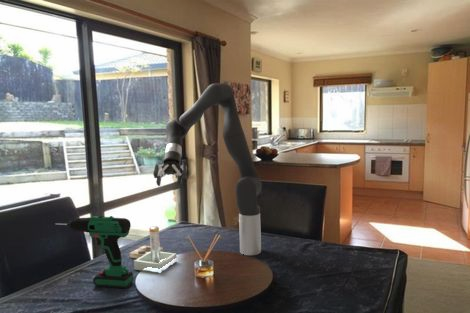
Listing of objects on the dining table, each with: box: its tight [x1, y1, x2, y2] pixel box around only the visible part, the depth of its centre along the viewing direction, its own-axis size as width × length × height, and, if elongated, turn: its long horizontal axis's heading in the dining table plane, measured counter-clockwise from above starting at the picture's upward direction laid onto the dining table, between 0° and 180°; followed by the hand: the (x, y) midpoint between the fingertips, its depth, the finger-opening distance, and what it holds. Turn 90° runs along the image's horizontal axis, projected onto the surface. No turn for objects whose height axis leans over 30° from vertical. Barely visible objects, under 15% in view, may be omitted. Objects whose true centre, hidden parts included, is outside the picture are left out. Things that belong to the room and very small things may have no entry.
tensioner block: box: [129, 245, 164, 259], centre depth 160 cm, size 10×10×3 cm
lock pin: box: [148, 225, 161, 263], centre depth 147 cm, size 4×4×15 cm
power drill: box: [54, 215, 134, 289], centre depth 132 cm, size 6×29×25 cm, turn 78°
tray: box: [133, 251, 177, 271], centre depth 148 cm, size 12×12×4 cm
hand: (168, 184), depth 157 cm, fingers open, 8 cm apart
